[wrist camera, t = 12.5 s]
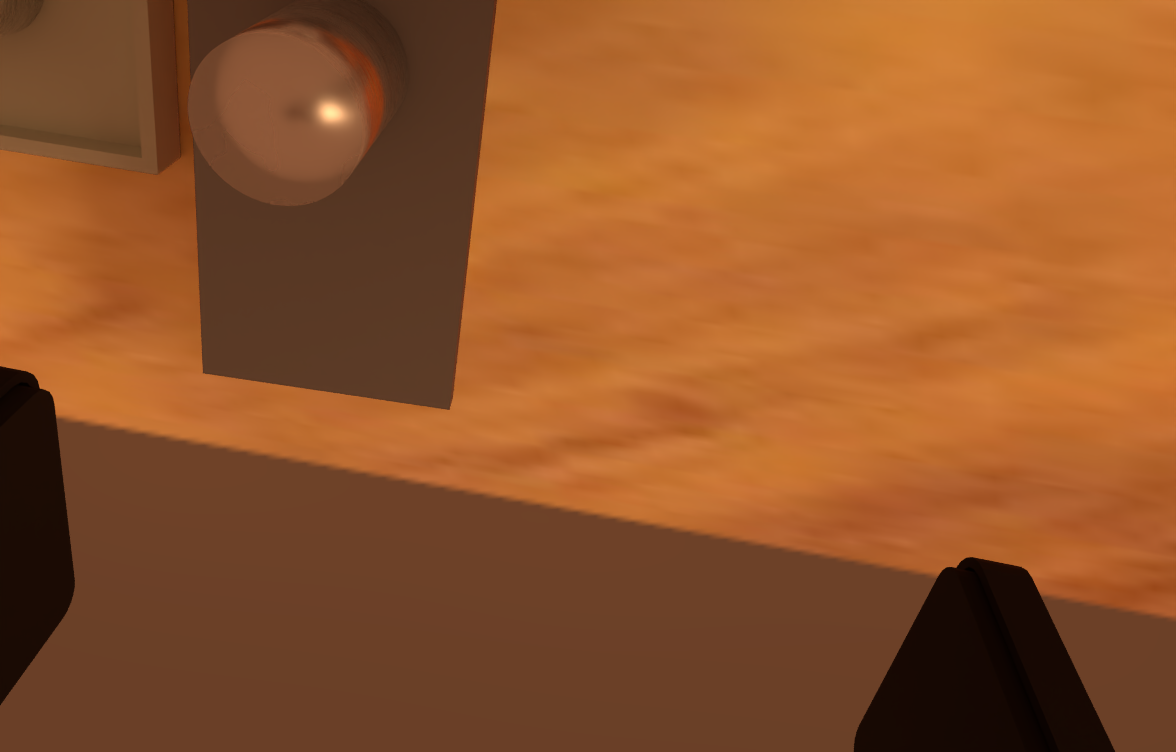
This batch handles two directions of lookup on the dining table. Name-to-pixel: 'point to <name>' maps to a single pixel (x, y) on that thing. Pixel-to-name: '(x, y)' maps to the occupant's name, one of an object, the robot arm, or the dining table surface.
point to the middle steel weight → (298, 99)
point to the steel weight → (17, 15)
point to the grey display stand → (354, 228)
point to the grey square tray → (93, 84)
